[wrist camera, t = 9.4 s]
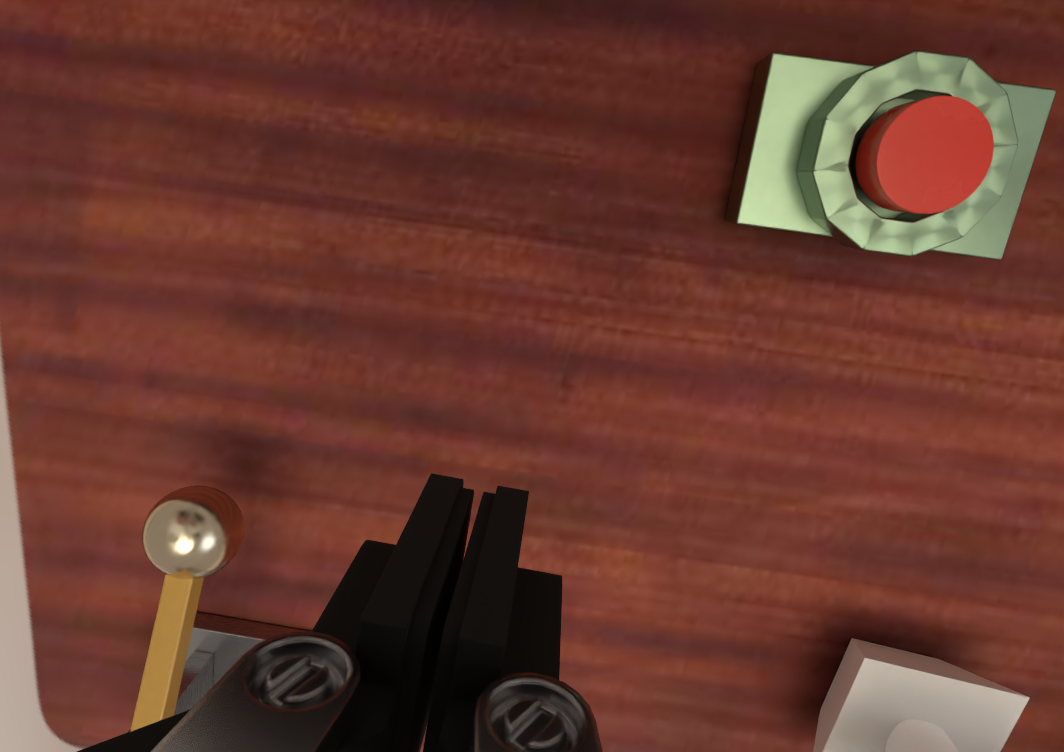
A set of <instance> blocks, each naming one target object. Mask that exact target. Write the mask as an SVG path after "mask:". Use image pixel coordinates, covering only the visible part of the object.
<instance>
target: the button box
mask: <svg viewBox="0 0 1064 752" xmlns="http://www.w3.org/2000/svg"><path fill="white" fill-rule="evenodd" d="M1055 94H1056V90H1055V89H1048V88H1040V87H1033V86H1025V85H1018V84H1010V83H1003V82H996V81H995V80H994V79H993V78H991V77H990V76H989V75H988V74H987V73H986V72H985V71H984V70H983V69H982V68H981V67H979V66H978V65H977V64H976V63H975V62H974V61H973V60H972V59H970V58H968V57H964V56H957V55H949V54H941V53H934V52H926V51H919V50H918V51H912V52H910V53H907V54H904V55H902V56H899V57H897V58H894V59H892V60H889V61H887V62H884V63H882V64H880V65H877V66H874V65H867V64H859V63H851V62H844V61H836V60H829V59H821V58H814V57H806V56H799V55H791V54H783V53H776V52H773V53H771V54H770V55H768V56H767V57H765V58H764V59H762V60H761V61H759V62H758V63H757V65H756V70H755V75H754V79H753V84H752V89H751V94H750V99H749V103H748V108H747V113H746V118H745V123H744V127H743V132H742V137H741V142H740V147H739V151H738V156H737V161H736V166H735V171H734V176H733V180H732V185H731V190H730V195H729V200H728V204H727V209H726V214H725V221H727V222H731V223H735V224H740V225H747V226H755V227H762V228H769V229H776V230H783V231H791V232H798V233H805V234H812V235H820V236H827V237H834V238H835V239H837V240H838V241H839V242H840V243H841V244H842V245H845V246H847V247H852V248H856V249H860V250H864V251H872V252H879V253H886V254H893V255H900V256H908V257H910V256H915V255H918V254H921V253H923V252H926V251H935V252H942V253H949V254H957V255H964V256H971V257H978V258H986V259H993V260H1001V259H1002V256H1003V253H1004V250H1005V247H1006V244H1007V241H1008V238H1009V235H1010V232H1011V229H1012V226H1013V223H1014V220H1015V216H1016V213H1017V210H1018V207H1019V204H1020V201H1021V198H1022V195H1023V192H1024V189H1025V186H1026V183H1027V180H1028V177H1029V174H1030V171H1031V168H1032V164H1033V161H1034V158H1035V155H1036V152H1037V149H1038V146H1039V143H1040V140H1041V137H1042V134H1043V131H1044V128H1045V125H1046V122H1047V119H1048V115H1049V112H1050V109H1051V106H1052V103H1053V100H1054V97H1055ZM943 95H945V96H954V97H959V98H962V99H964V100H967V101H968V102H970V103H972V104H973V105H975V106H976V107H977V108H978V109H979V110H980V111H981V112H982V113H983V114H984V115H985V117H986V118H987V120H988V122H989V124H990V127H991V130H992V133H993V139H994V151H993V158H992V162H991V165H990V168H989V170H988V172H987V174H986V176H985V178H984V180H983V181H982V183H981V184H980V186H979V187H978V188H977V189H976V190H975V192H973V193H972V194H971V195H970V196H969V197H968V198H967V199H966V200H964V201H963V202H962V203H960V204H958V205H956V206H955V207H953V208H950V209H948V210H945V211H942V212H938V213H933V214H919V213H907V212H896V211H891V210H887V209H884V208H882V207H880V206H878V205H876V204H875V203H873V202H872V201H871V200H870V199H869V198H868V197H867V196H866V195H865V194H864V192H863V191H862V189H861V187H860V185H859V182H858V179H857V175H856V167H855V163H856V154H857V150H858V147H859V144H860V141H861V139H862V137H863V135H864V134H865V132H866V130H867V129H868V128H869V126H870V125H871V124H872V123H873V122H874V121H875V120H876V119H877V118H878V117H879V116H880V115H882V114H883V113H884V112H886V111H888V110H889V109H891V108H893V107H895V106H898V105H901V104H904V103H908V102H912V101H916V100H920V99H924V98H929V97H934V96H943Z"/></svg>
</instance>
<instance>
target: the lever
mask: <svg viewBox="0 0 1064 752" xmlns="http://www.w3.org/2000/svg"><path fill="white" fill-rule="evenodd" d="M243 537H244V519H243V515H242V513H241V510H240V508H239V507H238V505H237V504H236V502H235V501H234V500H233V499H232V498H231V497H230V496H229V495H227V494H226V493H224V492H222V491H220V490H218V489H215V488H212V487H208V486H189V487H184V488H181V489H178V490H175V491H173V492H171V493H169V494H168V495H166V496H165V497H163V498H162V499H161V500H160V501H159V502H158V503H157V504H156V505H155V506H154V507H153V508H152V509H151V511H150V512H149V514H148V516H147V518H146V520H145V523H144V526H143V531H142V544H143V548H144V551H145V554H146V556H147V558H148V560H149V561H150V562H151V564H152V565H153V566H154V567H155V568H156V569H158V570H159V571H160V572H162V573H164V574H165V580H164V584H163V588H162V593H161V597H160V602H159V606H158V611H157V615H156V620H155V624H154V628H153V633H152V637H151V642H150V646H149V651H148V655H147V660H146V664H145V668H144V673H143V677H142V682H141V686H140V691H139V695H138V700H137V704H136V708H135V713H134V717H133V722H132V726H131V731H134V730H136V729H139V728H142V727H144V726H147V725H150V724H152V723H155V722H158V721H160V720H163V719H166V718H168V717H171V716H174V712H175V707H176V703H177V698H178V694H179V689H180V684H181V680H182V675H183V671H184V666H185V661H186V657H187V652H188V648H189V643H190V638H191V634H192V629H193V625H194V620H195V615H196V611H197V606H198V602H199V597H200V592H201V588H202V583H203V579H204V577H207V576H209V575H212V574H214V573H216V572H218V571H219V570H221V569H222V568H224V567H225V566H226V565H227V564H228V563H229V562H230V561H231V560H232V559H233V558H234V556H235V555H236V554H237V552H238V550H239V548H240V546H241V544H242V541H243ZM131 731H130V732H131Z"/></svg>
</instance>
